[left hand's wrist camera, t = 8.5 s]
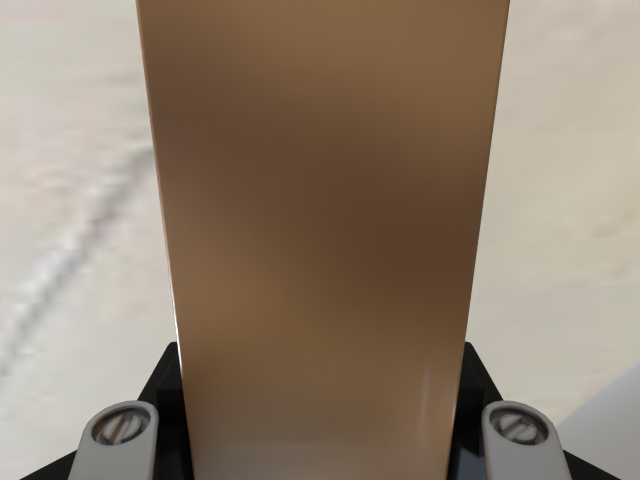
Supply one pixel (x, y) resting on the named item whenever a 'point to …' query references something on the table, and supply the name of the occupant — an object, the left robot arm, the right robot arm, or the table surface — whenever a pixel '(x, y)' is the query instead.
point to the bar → (321, 224)
